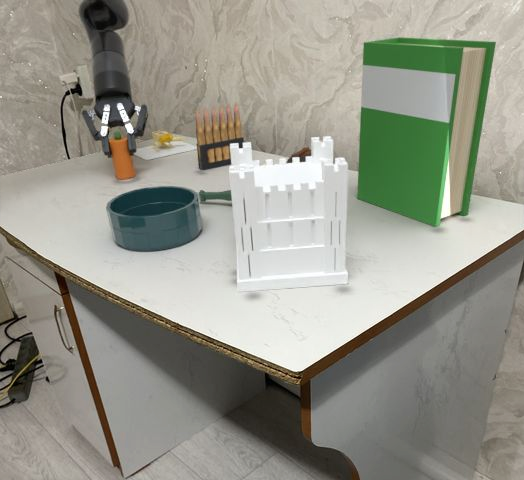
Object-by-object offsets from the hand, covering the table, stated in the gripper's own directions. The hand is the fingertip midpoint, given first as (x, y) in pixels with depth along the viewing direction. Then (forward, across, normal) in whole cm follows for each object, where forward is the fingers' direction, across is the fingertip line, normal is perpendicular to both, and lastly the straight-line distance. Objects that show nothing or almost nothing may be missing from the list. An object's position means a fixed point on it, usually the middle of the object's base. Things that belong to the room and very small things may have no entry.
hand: (120, 154), depth 110 cm
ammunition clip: (+2, +21, +6) cm, 22 cm away
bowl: (+27, +7, -20) cm, 34 cm away
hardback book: (+28, +49, -20) cm, 60 cm away
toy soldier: (+19, +30, -11) cm, 37 cm away
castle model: (+39, +25, -32) cm, 56 cm away
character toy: (-12, +8, +19) cm, 24 cm away
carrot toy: (+2, 0, +5) cm, 5 cm away
